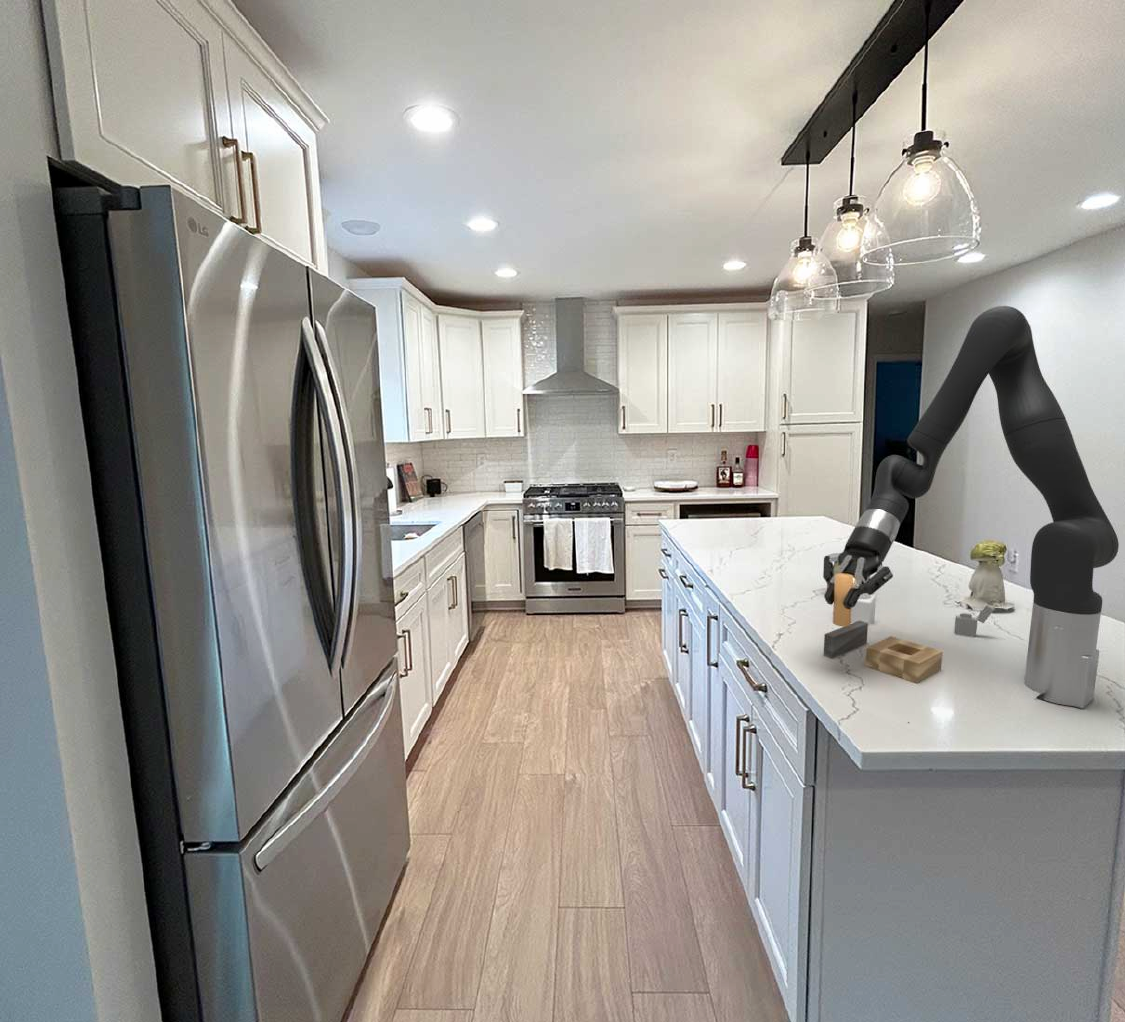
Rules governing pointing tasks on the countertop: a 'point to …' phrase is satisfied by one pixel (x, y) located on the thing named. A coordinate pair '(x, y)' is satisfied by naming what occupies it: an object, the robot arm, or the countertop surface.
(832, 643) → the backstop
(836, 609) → the dowel
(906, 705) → the countertop surface
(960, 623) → the lighter
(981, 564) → the mushroom
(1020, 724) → the countertop surface
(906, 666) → the socket block
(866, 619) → the medicine bottle
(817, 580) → the countertop surface
